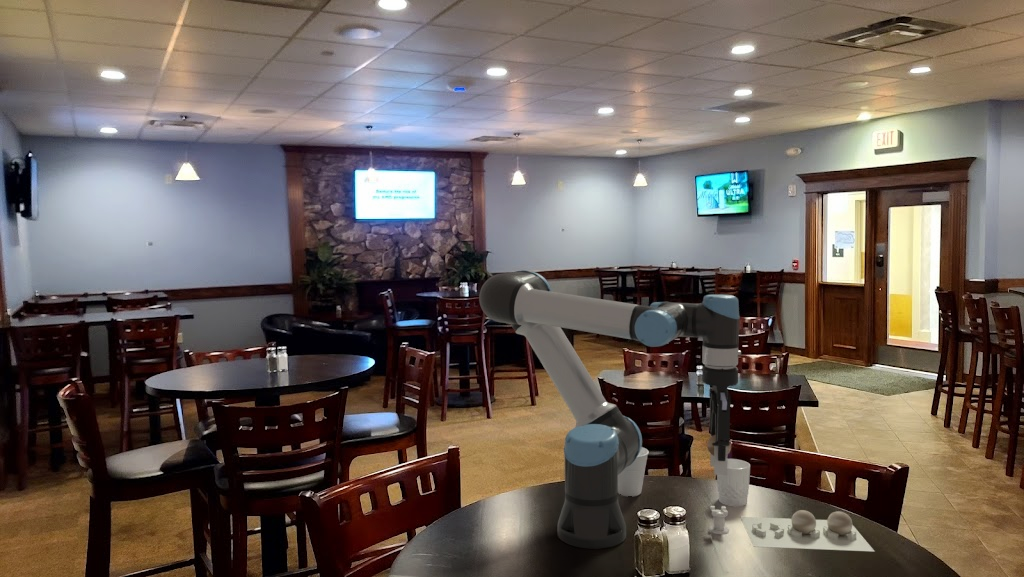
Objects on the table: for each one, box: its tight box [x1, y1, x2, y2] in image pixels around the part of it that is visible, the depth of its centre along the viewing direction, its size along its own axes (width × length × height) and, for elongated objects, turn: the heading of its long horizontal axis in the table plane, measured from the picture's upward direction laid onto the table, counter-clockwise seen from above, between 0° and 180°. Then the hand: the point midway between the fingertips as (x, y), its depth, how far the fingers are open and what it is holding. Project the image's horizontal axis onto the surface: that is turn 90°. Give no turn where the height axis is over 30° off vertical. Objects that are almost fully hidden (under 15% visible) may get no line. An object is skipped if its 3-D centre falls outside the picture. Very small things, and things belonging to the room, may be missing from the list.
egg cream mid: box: [791, 509, 817, 534], centre depth 159 cm, size 5×5×5 cm
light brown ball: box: [706, 435, 732, 456], centre depth 160 cm, size 5×5×5 cm
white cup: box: [716, 458, 751, 507], centre depth 178 cm, size 8×8×10 cm
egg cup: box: [708, 505, 730, 535], centre depth 161 cm, size 4×4×5 cm
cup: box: [618, 446, 650, 497], centre depth 186 cm, size 10×10×11 cm
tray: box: [740, 516, 876, 553], centre depth 159 cm, size 24×16×2 cm, turn 83°
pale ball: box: [826, 510, 854, 535], centre depth 158 cm, size 5×5×5 cm
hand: (718, 469), depth 160 cm, fingers closed on light brown ball, 5 cm apart
